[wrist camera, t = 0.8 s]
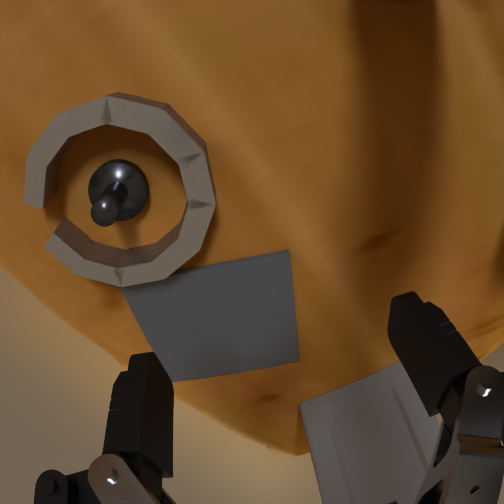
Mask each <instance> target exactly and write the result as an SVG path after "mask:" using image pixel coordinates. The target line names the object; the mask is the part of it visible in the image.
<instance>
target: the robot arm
mask: <svg viewBox="0 0 504 504" xmlns="http://www.w3.org/2000/svg"><path fill="white" fill-rule="evenodd" d="M388 337H389V340H390V343H391V345H392V347H393V349H394V351H395V352H396V354H397V356H398V358H399V360H400V361H401V363H402V365H403V367H404V369H405V371H406V373H407V374H408V376H409V378H410V380H411V382H412V384H413V386H414V388H415V390H416V391H417V393H418V395H419V397H420V399H421V401H422V403H423V405H424V407H425V409H426V411H427V413H428V415H429V417H432V416H434V415H436V414H438V413H440V414H441V416H442V418H443V420H442V422H441V426H440V430H439V435H438V439H437V443H436V446H435V450H434V454H433V457H432V461H431V464H430V467H429V470H428V473H427V475H426V477H425V478H424V480H423V482H422V484H421V487H420V489H419V492H418V495H417V497H416V500H415V503H414V504H497V502H498V498H499V494H500V489H501V485H502V480H503V475H504V446H502V445H501V440H502V442H503V444H504V372H499V371H498V370H497V369H495V368H493V367H491V366H485V365H482V364H481V363H480V361H479V360H478V359H477V357H476V356H475V354H474V353H473V351H472V350H471V349H470V347H469V346H468V344H467V343H466V342H465V340H464V339H463V337H462V336H461V335H460V333H459V332H458V331H456V328H455V326H454V325H453V324H452V322H451V323H450V320H449V318H448V317H447V316H446V314H445V313H444V312H443V311H442V309H440V308H439V307H437V306H436V305H434V304H433V303H431V302H426V303H423V301H422V300H421V299H420V297H419V296H418V295H417V294H416V293H415V292H414V291H411V292H408V293H405V294H402V295H398V296H395V297H393V298H392V300H391V307H390V315H389V322H388ZM111 399H112V400H111V401H110V407H109V409H110V411H109V413H108V419H107V426H106V433H105V440H104V447H103V452H102V455H101V456H99V457H98V458H96V459H95V460H94V461H93V462H92V463H91V465H90V467H89V469H87V470H84V471H81V472H77V473H74V474H70V475H66V476H65V475H64V474H62V473H61V472H59V471H57V470H47V471H45V472H43V473H42V474H41V475H40V476H39V478H38V479H37V482H36V487H35V496H34V504H176V503H175V502H174V501H173V499H172V498H171V497H170V496H169V495H168V494H167V492H166V491H165V490H164V489H163V488H162V478H170V477H173V407H174V389H173V384H172V381H171V379H170V377H169V375H168V374H167V372H166V370H165V369H164V367H163V366H162V364H161V362H160V361H159V359H158V357H157V356H156V354H155V353H154V352H147V353H140V354H134V355H131V357H130V360H129V365H128V371H123V372H121V373H120V374H119V376H118V378H117V379H116V381H115V383H114V384H113V389H112V395H111ZM389 504H397V501H394V502H391V503H389Z"/></svg>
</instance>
